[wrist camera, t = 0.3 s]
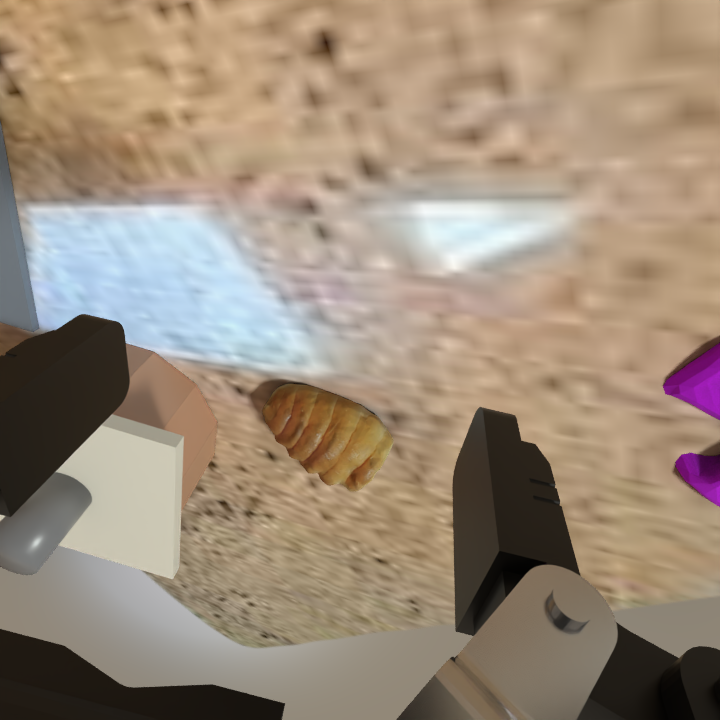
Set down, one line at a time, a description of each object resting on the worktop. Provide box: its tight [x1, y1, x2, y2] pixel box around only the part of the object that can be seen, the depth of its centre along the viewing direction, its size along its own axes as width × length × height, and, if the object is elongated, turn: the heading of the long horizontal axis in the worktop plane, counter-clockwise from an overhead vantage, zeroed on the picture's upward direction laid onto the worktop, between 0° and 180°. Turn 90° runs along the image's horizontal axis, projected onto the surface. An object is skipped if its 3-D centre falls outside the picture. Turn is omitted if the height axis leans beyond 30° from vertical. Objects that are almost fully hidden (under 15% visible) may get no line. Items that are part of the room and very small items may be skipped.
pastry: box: [262, 384, 393, 492], centre depth 34 cm, size 9×7×4 cm
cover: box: [0, 414, 184, 579], centre depth 30 cm, size 15×15×6 cm
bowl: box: [113, 344, 218, 511], centre depth 35 cm, size 14×14×7 cm
